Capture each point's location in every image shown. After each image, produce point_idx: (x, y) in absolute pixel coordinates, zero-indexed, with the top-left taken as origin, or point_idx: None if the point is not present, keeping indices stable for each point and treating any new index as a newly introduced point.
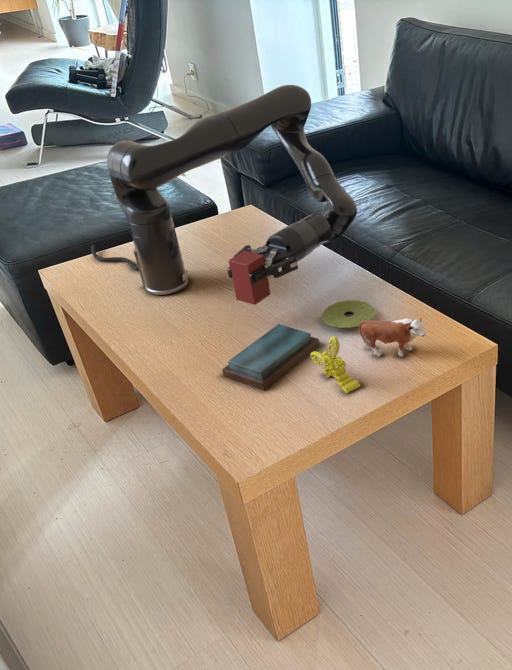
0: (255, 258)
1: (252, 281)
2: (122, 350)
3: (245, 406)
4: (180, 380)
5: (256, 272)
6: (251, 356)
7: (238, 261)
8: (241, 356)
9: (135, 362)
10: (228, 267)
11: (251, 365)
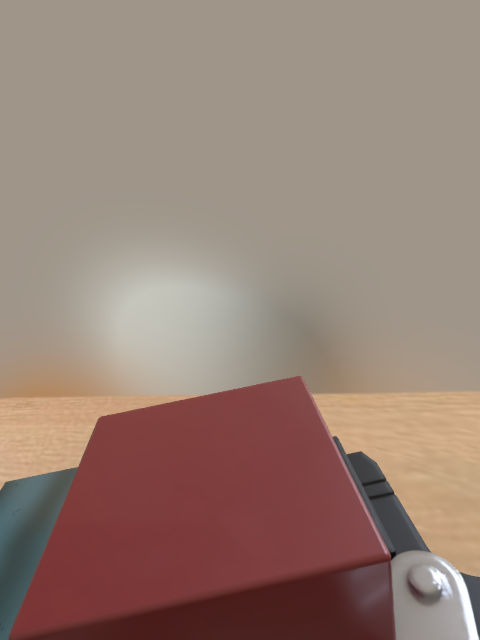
0: (90, 510)
1: None
2: (458, 395)
3: (40, 461)
4: None
5: None
6: (63, 501)
7: (213, 403)
8: None
9: (378, 398)
10: (374, 461)
11: (44, 481)
